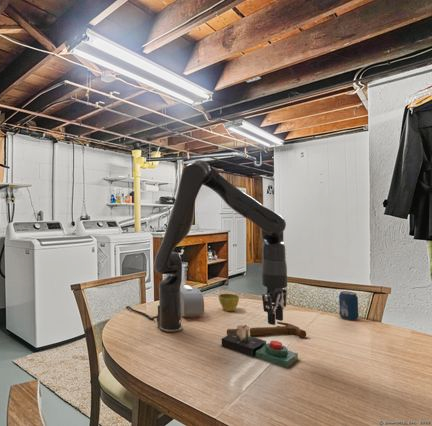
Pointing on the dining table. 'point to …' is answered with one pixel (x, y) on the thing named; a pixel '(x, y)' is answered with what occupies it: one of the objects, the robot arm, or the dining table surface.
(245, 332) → the dial
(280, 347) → the button
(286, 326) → the hammer
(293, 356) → the switchbox
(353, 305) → the soda can
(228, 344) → the panel
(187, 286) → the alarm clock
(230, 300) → the flower pot
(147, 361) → the dining table surface
